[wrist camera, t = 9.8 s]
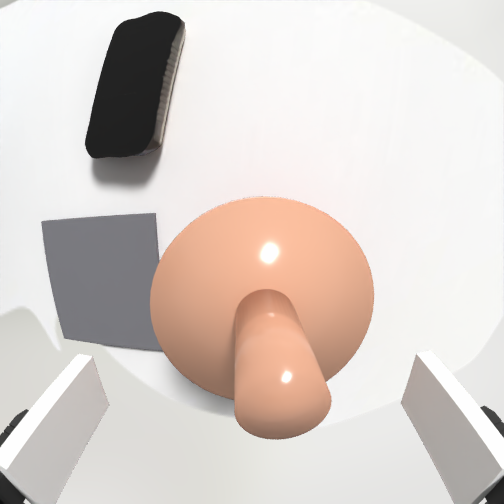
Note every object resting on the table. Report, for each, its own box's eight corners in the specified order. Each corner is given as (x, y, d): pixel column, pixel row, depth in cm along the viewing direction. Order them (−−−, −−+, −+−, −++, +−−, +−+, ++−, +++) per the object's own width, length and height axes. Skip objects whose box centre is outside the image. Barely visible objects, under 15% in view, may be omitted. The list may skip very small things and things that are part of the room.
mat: (66, 336, 34) (64, 338, 33) (44, 221, 30) (41, 221, 29) (170, 348, 33) (169, 351, 33) (155, 213, 29) (153, 213, 29)
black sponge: (163, 161, 28) (151, 158, 25) (96, 155, 28) (78, 154, 25) (193, 25, 25) (186, 9, 21) (126, 28, 25) (114, 15, 21)
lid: (171, 392, 20) (146, 489, 11) (144, 201, 17) (59, 226, 8) (352, 382, 21) (397, 469, 12) (373, 197, 17) (475, 217, 8)
